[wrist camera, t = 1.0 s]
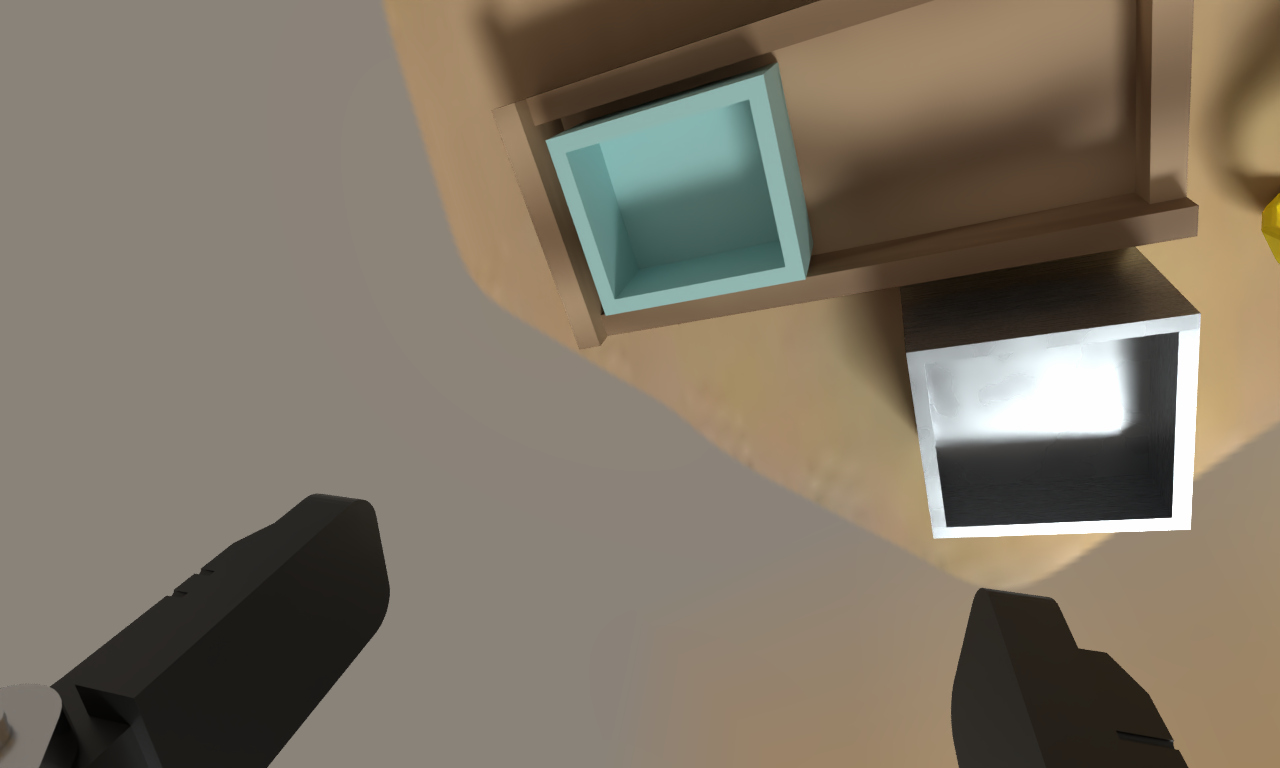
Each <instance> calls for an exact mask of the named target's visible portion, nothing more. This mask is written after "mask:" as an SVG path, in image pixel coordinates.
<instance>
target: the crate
mask: <svg viewBox="0 0 1280 768" xmlns="http://www.w3.org/2000/svg"><path fill="white" fill-rule="evenodd" d="M546 143H547V146H548V149H549V152H550V155H551V158H552V161H553V164H554V167H555V170H556V173H557V175H558V178H559V181H560V184H561V187H562V190H563V193H564V196H565V199H566V202H567V205H568V207H569V210H570V213H571V216H572V219H573V222H574V225H575V228H576V231H577V234H578V237H579V240H580V242H581V245H582V248H583V251H584V254H585V257H586V260H587V263H588V266H589V269H590V272H591V274H592V277H593V280H594V283H595V286H596V289H597V292H598V295H599V298H600V301H601V304H602V307H603V309H604V312H605V315H606V316H608V315H613V314H619V313H624V312H630V311H635V310H641V309H646V308H652V307H657V306H663V305H668V304H673V303H679V302H684V301H690V300H695V299H701V298H706V297H712V296H717V295H723V294H728V293H734V292H739V291H745V290H750V289H756V288H761V287H767V286H772V285H778V284H783V283H789V282H794V281H800V280H805V279H806V276H807V271H808V267H809V263H810V258H811V254H812V249H813V245H814V243H813V238H812V233H811V228H810V223H809V217H808V212H807V207H806V202H805V197H804V192H803V187H802V182H801V177H800V172H799V167H798V162H797V157H796V151H795V146H794V141H793V136H792V131H791V126H790V121H789V116H788V111H787V106H786V101H785V96H784V91H783V86H782V80H781V75H780V70H779V65H778V62H776V63H773V64H769V65H766V66H763V67H760V68H756V69H753V70H750V71H747V72H744V73H740V74H737V75H734V76H731V77H727V78H724V79H721V80H718V81H714V82H711V83H708V84H705V85H701V86H698V87H695V88H692V89H688V90H685V91H682V92H679V93H675V94H672V95H669V96H666V97H662V98H659V99H656V100H653V101H649V102H646V103H643V104H640V105H636V106H633V107H630V108H627V109H623V110H620V111H617V112H614V113H610V114H607V115H604V116H601V117H597V118H594V119H591V120H588V121H584V122H582V123H580V124H578V125H576V126H574V127H572V128H570V129H568V130H566V131H564V132H562V133H560V134H558V135H556V136H554V137H551V138H549V139H547V140H546Z"/></svg>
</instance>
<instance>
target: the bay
mask: <svg viewBox="0 0 1280 768" xmlns="http://www.w3.org/2000/svg"><path fill="white" fill-rule="evenodd" d="M1193 9H1194V0H819V1H816V2H813V3H810V4H807V5H804V6H801V7H798V8H795V9H792V10H789V11H786V12H783V13H780V14H778V15H775V16H772V17H769V18H766V19H763V20H760V21H757V22H754V23H751V24H748V25H745V26H742V27H739V28H736V29H733V30H730V31H727V32H724V33H721V34H718V35H715V36H712V37H709V38H706V39H703V40H700V41H697V42H694V43H691V44H688V45H685V46H682V47H679V48H676V49H673V50H670V51H667V52H664V53H661V54H658V55H655V56H652V57H649V58H646V59H643V60H640V61H637V62H634V63H631V64H628V65H625V66H622V67H619V68H616V69H613V70H610V71H607V72H604V73H601V74H598V75H595V76H592V77H589V78H586V79H583V80H580V81H577V82H574V83H571V84H568V85H565V86H562V87H559V88H556V89H553V90H550V91H547V92H544V93H541V94H538V95H535V96H532V97H530V98H527V99H524V100H521V101H518V102H515V103H512V104H509V105H506V106H503V107H500V108H497V109H494V110H491V111H492V114H493V116H494V119H495V122H496V124H497V127H498V130H499V133H500V135H501V138H502V141H503V143H504V146H505V149H506V152H507V154H508V157H509V160H510V162H511V165H512V168H513V171H514V173H515V176H516V179H517V181H518V184H519V187H520V190H521V192H522V195H523V198H524V200H525V203H526V206H527V209H528V211H529V214H530V217H531V219H532V222H533V225H534V228H535V230H536V233H537V236H538V238H539V241H540V244H541V247H542V249H543V252H544V255H545V257H546V260H547V263H548V265H549V268H550V271H551V274H552V276H553V279H554V282H555V284H556V287H557V290H558V293H559V295H560V298H561V301H562V303H563V306H564V309H565V312H566V314H567V317H568V320H569V322H570V325H571V328H572V331H573V333H574V336H575V339H576V341H577V344H578V347H579V349H585V348H591V347H597V346H600V345H601V344H602V343H603V341H604V340H605V339H606V337H607V336H610V335H616V334H622V333H628V332H633V331H639V330H645V329H651V328H657V327H663V326H669V325H675V324H681V323H687V322H692V321H698V320H704V319H710V318H716V317H722V316H728V315H734V314H740V313H746V312H751V311H757V310H763V309H769V308H775V307H781V306H787V305H793V304H799V303H805V302H811V301H816V300H822V299H828V298H834V297H840V296H846V295H852V294H858V293H864V292H870V291H875V290H881V289H887V288H893V287H899V286H905V285H911V284H917V283H923V282H929V281H934V280H940V279H946V278H952V277H958V276H964V275H970V274H976V273H982V272H988V271H993V270H999V269H1005V268H1011V267H1017V266H1023V265H1029V264H1035V263H1041V262H1047V261H1052V260H1058V259H1064V258H1070V257H1076V256H1082V255H1088V254H1094V253H1100V252H1106V251H1111V250H1117V249H1123V248H1129V247H1135V246H1141V245H1147V244H1153V243H1159V242H1165V241H1170V240H1176V239H1182V238H1188V237H1194V236H1197V232H1198V209H1199V205H1197V204H1196V203H1194V202H1193V201H1191V200H1190V199H1189V198H1187V174H1188V146H1189V119H1190V91H1191V64H1192V36H1193ZM776 62H778V65H779V70H780V75H781V80H782V86H783V91H784V96H785V101H786V106H787V111H788V116H789V121H790V126H791V131H792V136H793V141H794V146H795V151H796V157H797V162H798V167H799V172H800V177H801V182H802V187H803V192H804V197H805V202H806V207H807V212H808V217H809V223H810V228H811V233H812V238H813V243H814V245H813V249H812V254H811V258H810V263H809V267H808V271H807V276H806V279H805V280H800V281H794V282H789V283H783V284H778V285H772V286H767V287H761V288H756V289H750V290H745V291H739V292H734V293H728V294H723V295H717V296H712V297H706V298H701V299H695V300H690V301H684V302H679V303H673V304H668V305H663V306H657V307H652V308H646V309H641V310H635V311H630V312H624V313H619V314H613V315H608V316H606V315H605V312H604V309H603V307H602V304H601V301H600V298H599V295H598V292H597V289H596V286H595V283H594V280H593V277H592V274H591V272H590V269H589V266H588V263H587V260H586V257H585V254H584V251H583V248H582V245H581V242H580V240H579V237H578V234H577V231H576V228H575V225H574V222H573V219H572V216H571V213H570V210H569V207H568V205H567V202H566V199H565V196H564V193H563V190H562V187H561V184H560V181H559V178H558V175H557V173H556V170H555V167H554V164H553V161H552V158H551V155H550V152H549V149H548V146H547V143H546V140H547V139H549V138H551V137H554V136H556V135H558V134H560V133H562V132H564V131H566V130H568V129H570V128H572V127H574V126H576V125H578V124H580V123H582V122H584V121H588V120H591V119H594V118H597V117H601V116H604V115H607V114H610V113H614V112H617V111H620V110H623V109H627V108H630V107H633V106H636V105H640V104H643V103H646V102H649V101H653V100H656V99H659V98H662V97H666V96H669V95H672V94H675V93H679V92H682V91H685V90H688V89H692V88H695V87H698V86H701V85H705V84H708V83H711V82H714V81H718V80H721V79H724V78H727V77H731V76H734V75H737V74H740V73H744V72H747V71H750V70H753V69H756V68H760V67H763V66H766V65H769V64H773V63H776Z"/></svg>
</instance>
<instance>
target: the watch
mask: <svg viewBox="0 0 1280 768" xmlns="http://www.w3.org/2000/svg"><path fill="white" fill-rule="evenodd" d="M1261 230H1262V232H1263V234H1264V237H1265V239H1266V241H1267V243H1268V245H1269V247H1270V249H1271V251H1272V253H1273V255H1274V257H1275V259H1276V260H1277V262H1278V263H1280V193H1279V194H1278V195H1277V196H1276V197H1275V198H1274V199H1273V200H1272V201H1271V202H1270V203H1269V204H1268V205H1267V206H1266V207H1265V209H1264V211H1263V212H1262V228H1261Z"/></svg>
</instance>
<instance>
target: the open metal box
mask: <svg viewBox="0 0 1280 768" xmlns="http://www.w3.org/2000/svg"><path fill="white" fill-rule="evenodd" d="M900 290H901V301H902V313H903V324H904V336H905V347H906V356H907V363H908V370H909V377H910V383H911V390H912V397H913V403H914V410H915V417H916V423H917V430H918V437H919V444H920V450H921V457H922V464H923V470H924V477H925V484H926V490H927V497H928V504H929V511H930V517H931V524H932V531H933V537H934V538H957V537H985V536H1013V535H1040V534H1068V533H1096V532H1124V531H1151V530H1180V529H1190V523H1191V502H1192V482H1193V461H1194V441H1195V420H1196V399H1197V379H1198V358H1199V337H1200V317H1201V313H1200V312H1199V311H1198V310H1197V309H1196V308H1195V307H1194V306H1193V305H1192V304H1191V303H1190V302H1189V301H1188V300H1187V299H1186V298H1185V297H1184V296H1183V295H1182V294H1181V293H1180V292H1179V291H1178V290H1177V289H1176V288H1175V287H1174V286H1173V285H1172V284H1171V283H1170V282H1169V281H1168V280H1167V279H1166V278H1165V277H1164V276H1163V275H1162V274H1161V273H1160V272H1159V271H1158V270H1157V268H1156V267H1155V266H1154V265H1153V264H1152V263H1151V262H1150V261H1149V260H1148V259H1147V258H1146V257H1145V256H1144V255H1143V254H1142V253H1141V252H1140V251H1139V250H1138V249H1137V248H1136V247H1129V248H1123V249H1117V250H1111V251H1106V252H1100V253H1094V254H1088V255H1082V256H1076V257H1070V258H1064V259H1058V260H1052V261H1047V262H1041V263H1035V264H1029V265H1023V266H1017V267H1011V268H1005V269H999V270H993V271H988V272H982V273H976V274H970V275H964V276H958V277H952V278H946V279H940V280H934V281H929V282H923V283H917V284H911V285H905V286H900Z"/></svg>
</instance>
